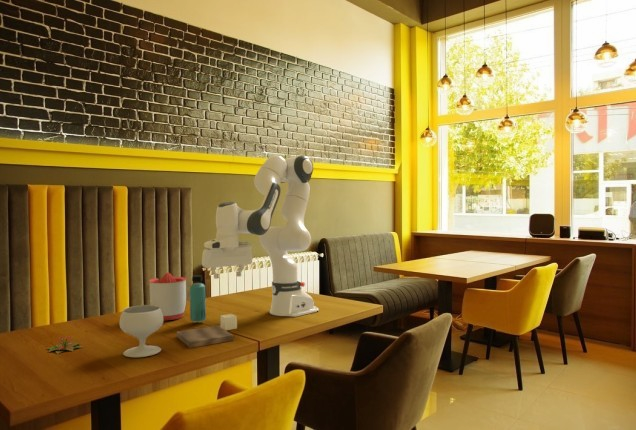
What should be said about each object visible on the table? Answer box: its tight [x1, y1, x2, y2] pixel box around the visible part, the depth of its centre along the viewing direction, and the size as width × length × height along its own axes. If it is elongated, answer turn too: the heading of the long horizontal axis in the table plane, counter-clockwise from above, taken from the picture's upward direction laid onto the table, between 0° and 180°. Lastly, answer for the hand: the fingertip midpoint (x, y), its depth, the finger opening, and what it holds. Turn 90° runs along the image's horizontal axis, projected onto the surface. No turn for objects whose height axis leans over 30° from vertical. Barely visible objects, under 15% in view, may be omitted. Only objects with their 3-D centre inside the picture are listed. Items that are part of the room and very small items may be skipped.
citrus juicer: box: [148, 272, 187, 322], centre depth 211 cm, size 16×17×20 cm
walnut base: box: [176, 325, 234, 349], centre depth 179 cm, size 16×16×2 cm
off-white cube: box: [219, 313, 238, 331], centre depth 193 cm, size 5×5×5 cm
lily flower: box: [46, 335, 83, 355], centre depth 169 cm, size 12×12×5 cm
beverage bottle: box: [189, 274, 207, 323], centre depth 201 cm, size 6×7×20 cm
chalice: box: [119, 304, 164, 358], centre depth 163 cm, size 14×14×15 cm
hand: (227, 277), depth 193 cm, fingers open, 8 cm apart
